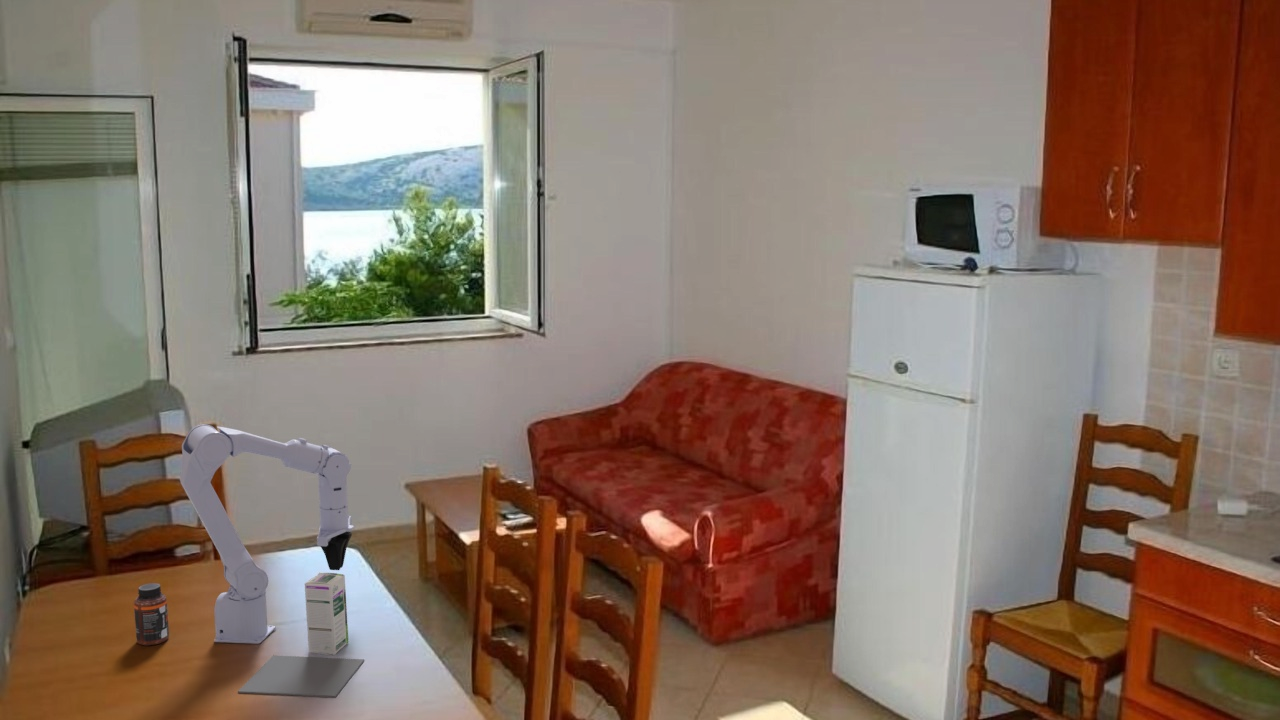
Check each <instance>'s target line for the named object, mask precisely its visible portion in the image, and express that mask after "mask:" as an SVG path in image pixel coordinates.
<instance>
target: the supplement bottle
mask: <svg viewBox="0 0 1280 720" xmlns="http://www.w3.org/2000/svg"><path fill="white" fill-rule="evenodd" d="M137 592H138V596H137V597H136V598H135V599H134V601H133V608H134V610H133V611H134V621H135V622H134V624H135V634H136V643H137V644H139V645H142V646H155V645H159V644H162V643H164V642H166V641H167V640H168V639H169V638H170V637H169V636H170V629H169V627H170V626H169V614H168V613H169V612H168V601H167V600H168V599H167V596H166V595H165V594H164V593H163V592H162V589H161V584H160V583H156V582H155V583H154V582H153V583H151V582H150V583H145V584H143V585H140V586H139V587H138V590H137Z"/></svg>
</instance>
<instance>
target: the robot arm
mask: <svg viewBox="0 0 1280 720" xmlns="http://www.w3.org/2000/svg"><path fill="white" fill-rule="evenodd" d="M216 427H217V429H216V428H215V427H214V426H213V425H209V424H198V425H195V426H194V427H193V428H191V429H190V430H189V431H188V434H187V435H186V437H185V438H184V440H183V442H182V444H181V452H182V453H181V454H182V456H181V464H180V465H181V466H180V474H179V482H180V485H181V486H182V488H183V489H184V492H185V494H186V495H187V498H188V499H189V501H190V503H191V505H192V506H193V508H194V510H195V512H196V514H197V515H198V518H199V519H200V521H201V522H202V525H203V527H204V528H205V530H206V532H207V534H208V536H209V537H210V539H211V541H212V543H213V546H215V549H216V550H217V552H218V554H219V556H220V561H221V563H222V565H223V576H224V579H225V581H226V582H227V583H229V585H230V586H229V587H228V589H227V590H228V591H226V592H225V591H224V592H221V593H220V594H219V595H218V596H217V598H216V600H215V604H214V610H213V611H214V627H215V629H214V630H215V638H214V642H215V643H230V644H231V643H233V644H255V645H259V644H261V643H263V641H264V640H265V639H266V638H267V637H268V636H269V635H270V634H272V632H273V631H275V629H277V628H276V625H268V608H267V606H268V605H267V592H266V591H267V588H268V584H269V576H268V574H267V572H266V571H265V570H264V569H263V568H261V567H259V565H257V564H256V562H255V560H254V559H253V558H252V556H251V554H250V553H249V551H248V550H247V548H246V547H245V545H244V543H243V542H242V539H241V537H240V536H239V534H238V532H237V530H236V528H235V526H234V524H233V523H232V520H231V519H230V517H229V515H228V513H227V511H226V509H225V508H224V505H223V504H222V501H221V500H220V498H219V496H218V494H217V492H216V490H215V489H214V486H213V485H212V483H211V482H212V479H213V477H214V475H215V473H216V472H217V470H218V469H219V468H220V467H221V466H222V465H223V464H224V463H225V462H226V460H227V459H229V457H230V456H232V458H235V457H237V456H239V455H240V454H242V453H244V452H245V453H250V454H256V455H260V456H265V457H270V458H275V459H280V460H281V462H282V464H283V466H284V467H285V468H289V469H294V470H297V471H302V472H307V473H311V474H318V500H319V502H318V503H319V507H318V508H319V527H318V535H317V536H316V546H317V547H320V548H321V550H322V551H323V554H324V556H325V559H326V562H327V566H328V569H329V570H331V571H340V570H341V568H343V566H344V564H345V563H344V562H345V557H346V552H347V548H348V545H349V543H350V542H349V541H350V539H351V538H352V537H353V536H352V535H353V532H352V531H354V529H355V526H354V525H352V515H349V499H348V482H347V481H348V480H347V478H348V477H347V476H349V474H350V473H351V469H352V464H351V463H350V460H349V457H348V456H346V454H344V453H343V452H340V451H339V450H337V449H335V448H332V447H331V446H329V445H326V444H322V445H318V444H314V443H309V442H308V440H307V439H306V438H301V437H299V438H298V439H293V438H292V439H290V440H289V441H286V442H281V441H276V440H274V439H270V438H267V437H264V436H259V435H256V434H254V433H250V432H246V431H243V430H239V429H236V428H229V427H225V426H216ZM218 430H219V431H218Z"/></svg>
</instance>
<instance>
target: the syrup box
mask: <svg viewBox="0 0 1280 720" xmlns="http://www.w3.org/2000/svg"><path fill="white" fill-rule="evenodd" d="M346 591H347V590H346V577H345V574H342V573H337V572H336V573H335V572H319V573H317V575H315V576H314V577H312V578H310V579H309V580H307V581H306V582H305V583H304V592H305V594H304V595H305V596H304V597H305V611H306V626H307V645H308V652H309V653H312V654H313V653H314V654H320V653H323V654H322V655H332V654H333V655H336V654H337V653H338V652H339V651H340V650H342V649H343V648H344V647H345V646H346V645H347V644H348V643H349V629H348V628H349V627H348V626H349V625H348V612H347V610H348V607H347V594H346ZM333 655H332V656H333Z"/></svg>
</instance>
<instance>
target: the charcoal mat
mask: <svg viewBox="0 0 1280 720" xmlns="http://www.w3.org/2000/svg"><path fill="white" fill-rule="evenodd" d="M364 662H365V659H364V658H340V657H323V656H321V657H319V656H296V655H275V654H273V655H272V656H271V657H270V658H269V659H268V660H267V661H266V662H265V663H264V664H263V665H262V666H261V667H260V668H259V669H258V670H257V671H256V672H255V673H254V674H253V675H252V676H251V677H250V678H249V679H248V681H246V682H245V683H244V684H243V685H242V686H241V687H240V688H239V689H238V691H237V693H238V694H255V695H259V694H260V695H278V696H296V697H297V696H298V697H299V696H301V697H317V698H318V697H319V698H323V697H324V698H336V697H338V695H339V693H341V691H342V690H343V689H344V687H345V686H346V685H347V684H348V682H349V681H350V679H352V677H353V676H354V674H355V673H356V672H357V670H358V669H359V668H360V667H361V666H362V664H363V663H364Z"/></svg>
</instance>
